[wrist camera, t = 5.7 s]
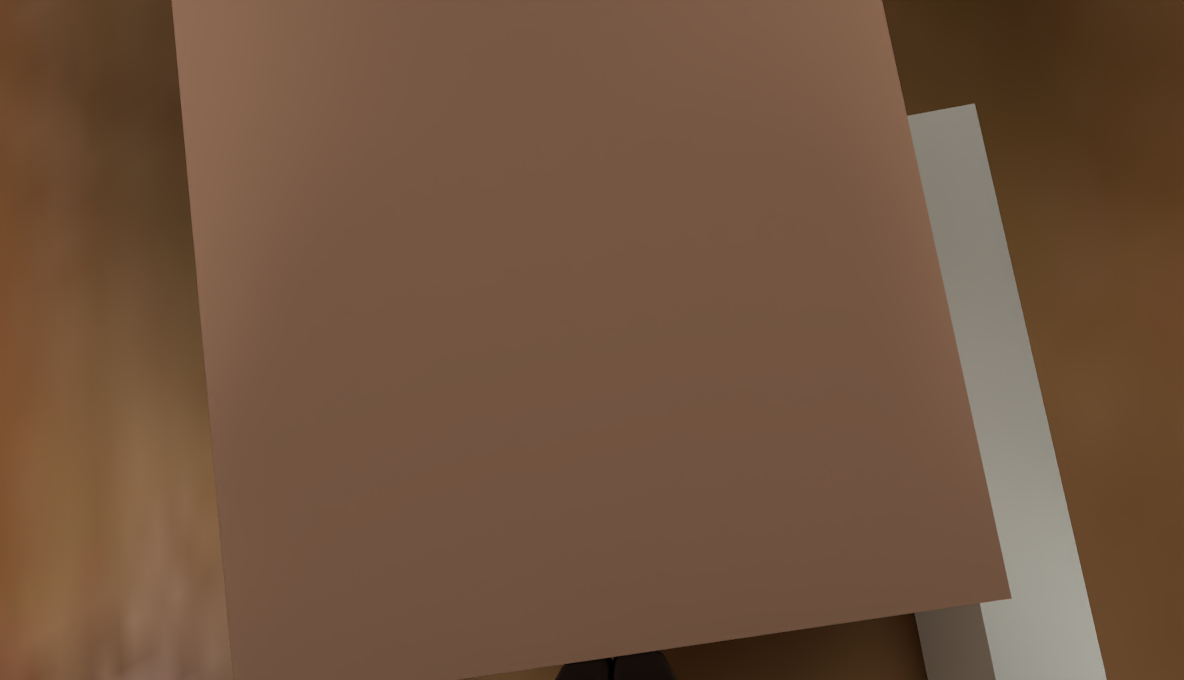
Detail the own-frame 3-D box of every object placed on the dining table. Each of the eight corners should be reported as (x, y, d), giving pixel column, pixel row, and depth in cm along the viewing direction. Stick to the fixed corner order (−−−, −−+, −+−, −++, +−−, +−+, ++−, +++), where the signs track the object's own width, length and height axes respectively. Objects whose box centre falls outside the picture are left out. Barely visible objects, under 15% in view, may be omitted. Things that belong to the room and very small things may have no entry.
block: (866, 560, 18) (1011, 597, 9) (471, 621, 18) (235, 712, 9) (785, 148, 19) (842, -180, 10) (419, 216, 19) (168, -38, 11)
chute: (1071, 979, 16) (1219, 1171, 12) (416, 1054, 17) (296, 1265, 12) (813, -229, 20) (843, -472, 15) (283, -116, 21) (150, -310, 16)
